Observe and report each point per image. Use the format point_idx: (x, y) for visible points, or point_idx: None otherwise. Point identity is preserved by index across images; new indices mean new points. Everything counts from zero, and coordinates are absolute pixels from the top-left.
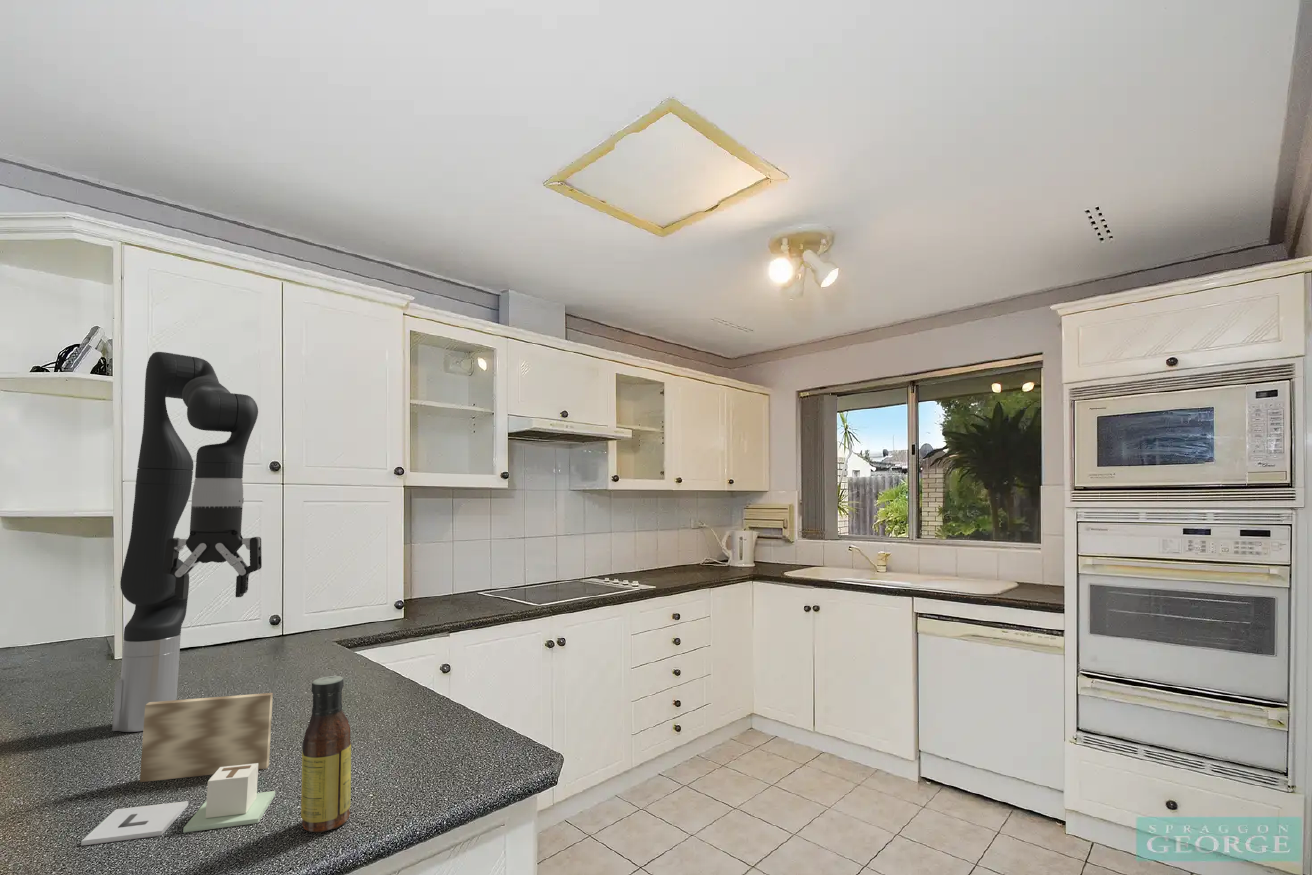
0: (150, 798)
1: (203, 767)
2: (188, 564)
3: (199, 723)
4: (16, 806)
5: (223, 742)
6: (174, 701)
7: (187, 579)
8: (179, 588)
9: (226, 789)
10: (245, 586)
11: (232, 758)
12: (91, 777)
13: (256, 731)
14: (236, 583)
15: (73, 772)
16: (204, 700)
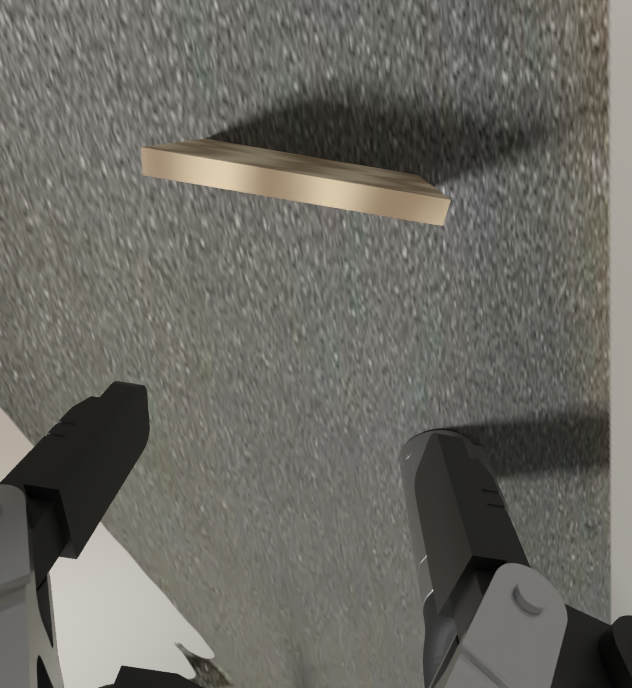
0: (389, 65)
1: (313, 158)
2: (483, 681)
3: (321, 170)
4: (602, 145)
5: (274, 156)
6: (383, 202)
7: (443, 571)
8: (475, 484)
9: None
10: (55, 428)
11: (261, 150)
12: (496, 243)
13: (203, 146)
14: (94, 442)
15: (524, 283)
16: (308, 176)
